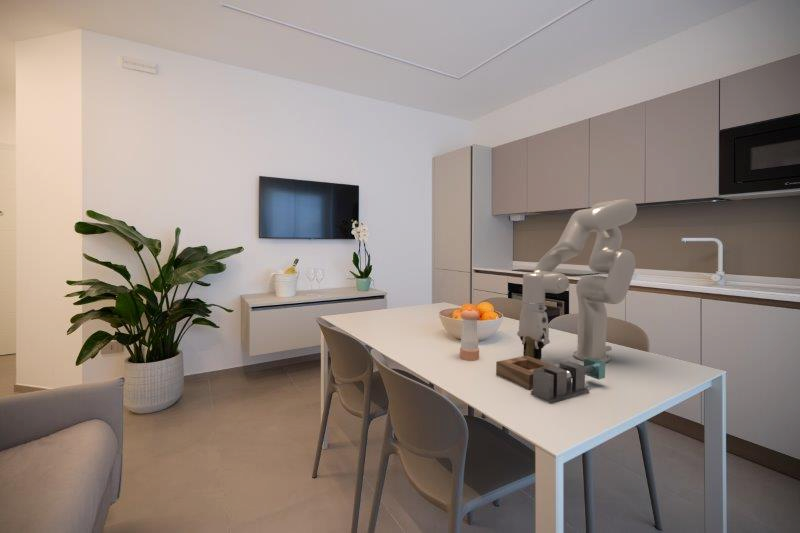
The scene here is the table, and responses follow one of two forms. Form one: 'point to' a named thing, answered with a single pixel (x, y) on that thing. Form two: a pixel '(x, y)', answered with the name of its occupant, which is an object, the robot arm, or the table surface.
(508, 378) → the walnut holder
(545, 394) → the shaft bracket
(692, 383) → the table surface
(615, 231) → the robot arm
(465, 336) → the salt shaker
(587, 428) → the table surface
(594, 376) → the steel shaft
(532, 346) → the olive brown pear shape
